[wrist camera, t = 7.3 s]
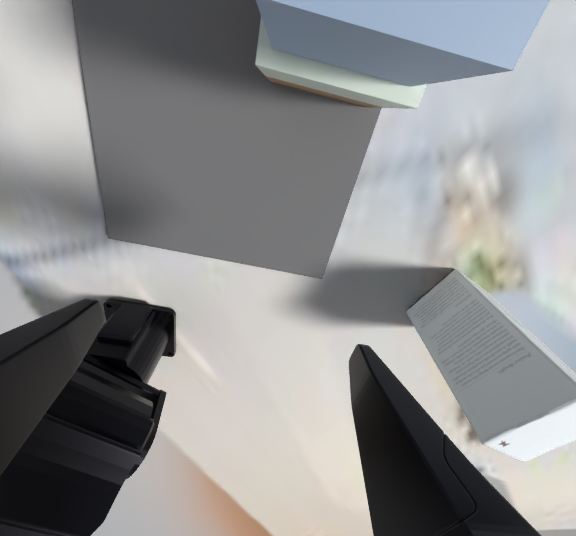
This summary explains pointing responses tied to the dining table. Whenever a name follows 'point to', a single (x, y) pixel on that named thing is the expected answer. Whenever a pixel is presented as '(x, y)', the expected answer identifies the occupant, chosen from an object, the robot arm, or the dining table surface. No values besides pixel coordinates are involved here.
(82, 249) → the dining table surface
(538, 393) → the skincare box
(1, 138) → the dining table surface
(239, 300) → the dining table surface
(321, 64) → the tower mid
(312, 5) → the cube
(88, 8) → the placemat
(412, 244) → the dining table surface
